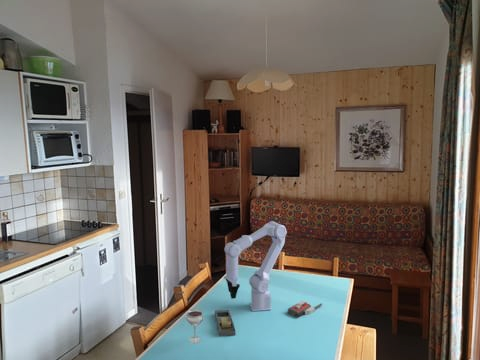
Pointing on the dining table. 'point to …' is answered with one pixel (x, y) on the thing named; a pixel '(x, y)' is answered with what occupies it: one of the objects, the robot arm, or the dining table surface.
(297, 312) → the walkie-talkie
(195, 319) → the wineglass
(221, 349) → the dining table surface
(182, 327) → the dining table surface
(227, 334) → the grey compartment tray
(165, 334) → the dining table surface
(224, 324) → the nut block
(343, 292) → the dining table surface
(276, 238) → the robot arm
